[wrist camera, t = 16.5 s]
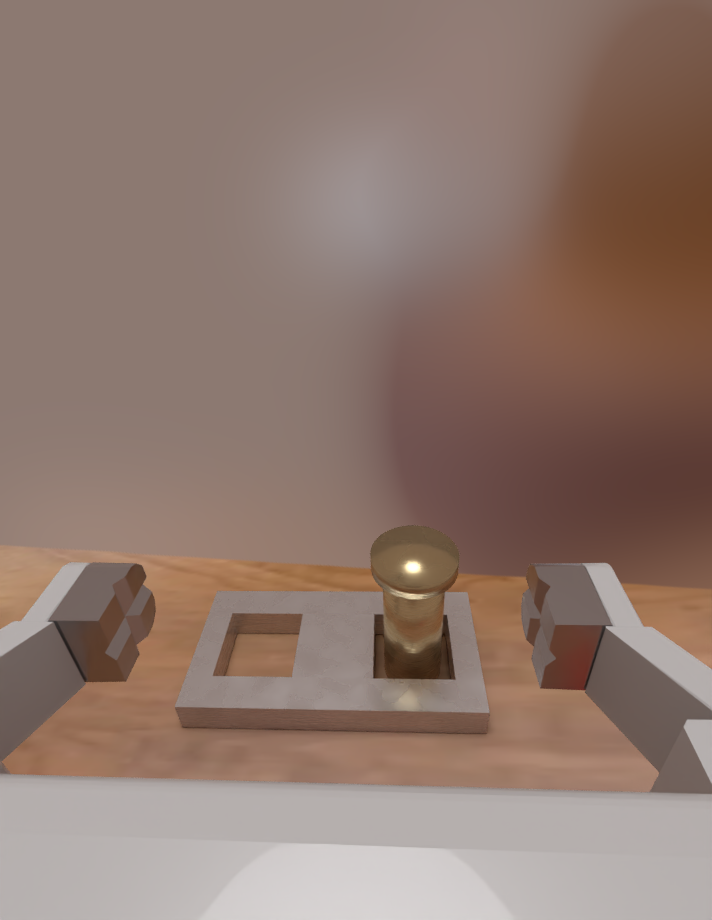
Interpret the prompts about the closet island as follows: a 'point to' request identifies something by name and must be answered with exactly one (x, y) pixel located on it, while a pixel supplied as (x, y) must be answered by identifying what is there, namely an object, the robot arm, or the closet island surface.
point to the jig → (329, 669)
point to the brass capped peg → (413, 597)
